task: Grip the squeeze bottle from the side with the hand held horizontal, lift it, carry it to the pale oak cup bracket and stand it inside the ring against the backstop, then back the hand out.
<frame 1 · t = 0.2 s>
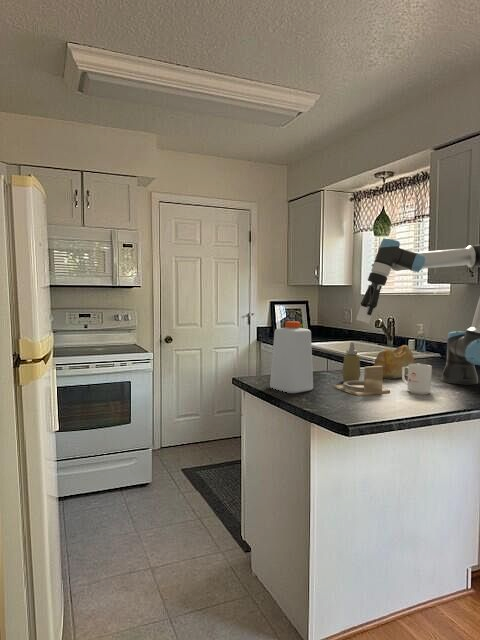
hand: (362, 321, 192), 28 cm above the counter, fingers open, 13 cm apart
mug: (415, 392, 184), on the counter
cup bracket: (361, 390, 185), on the counter
plastic bottle: (291, 389, 185), on the counter
squeeze bottle: (350, 382, 202), on the counter
rough brown rock: (389, 376, 218), on the counter
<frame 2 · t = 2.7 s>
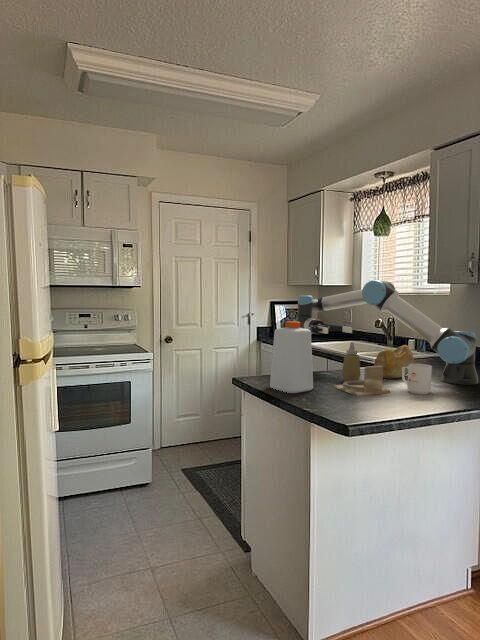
hand: (339, 330, 209), 22 cm above the counter, fingers open, 13 cm apart
nothing on the counter moved.
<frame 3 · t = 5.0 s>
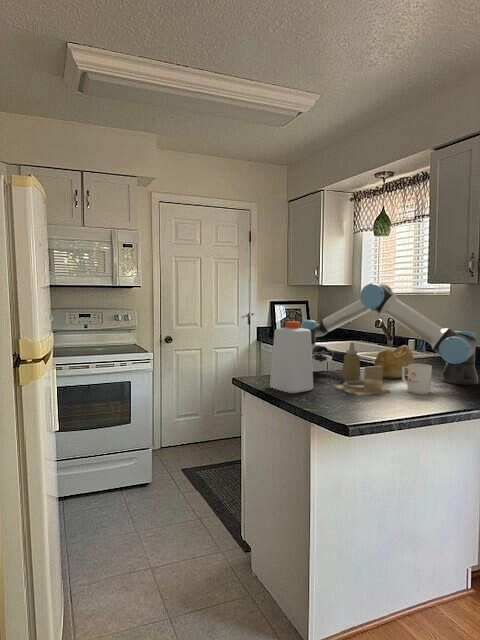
hand: (344, 358, 205), 10 cm above the counter, fingers open, 13 cm apart
nothing on the counter moved.
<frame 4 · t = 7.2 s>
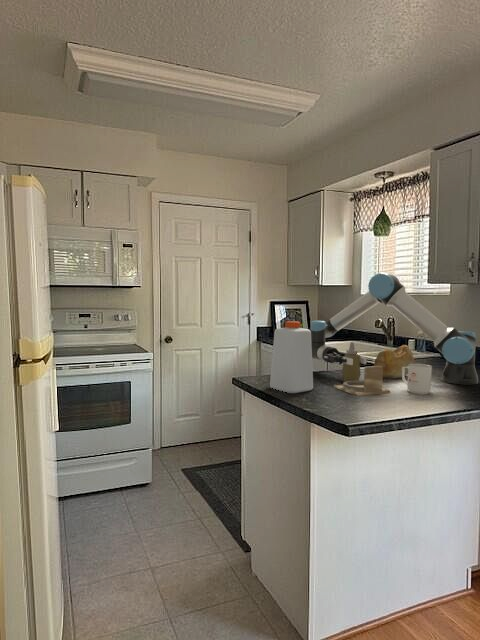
hand: (358, 361, 196), 10 cm above the counter, fingers closed on squeeze bottle, 6 cm apart
squeeze bottle: (350, 382, 202), on the counter, touching gripper
everything else where it was.
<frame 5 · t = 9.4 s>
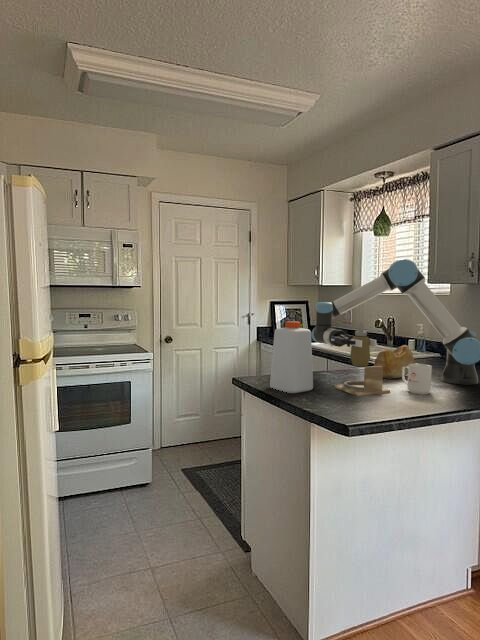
hand: (368, 343, 181), 20 cm above the counter, fingers closed on squeeze bottle, 6 cm apart
squeeze bottle: (359, 366, 186), point 10 cm above the counter, touching gripper
everything else where it was.
when the fingers open (12 cm above the counter, at t = 11.7 s): squeeze bottle drops 1 cm, resting on cup bracket.
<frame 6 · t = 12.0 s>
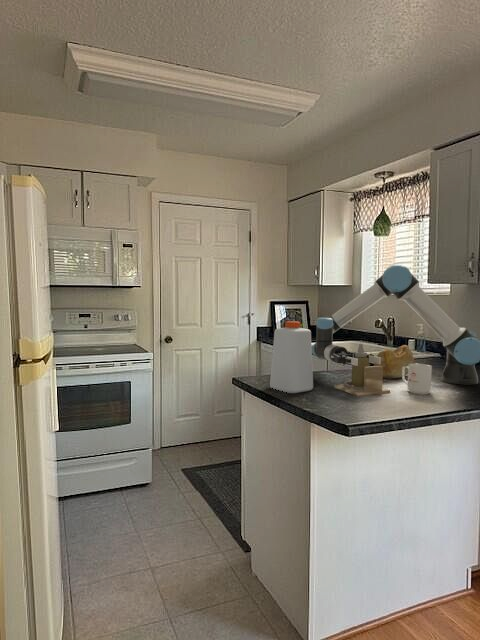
hand: (368, 361, 181), 12 cm above the counter, fingers open, 11 cm apart
squeeze bottle: (361, 387, 185), point 1 cm above the counter, touching cup bracket
everything else where it was.
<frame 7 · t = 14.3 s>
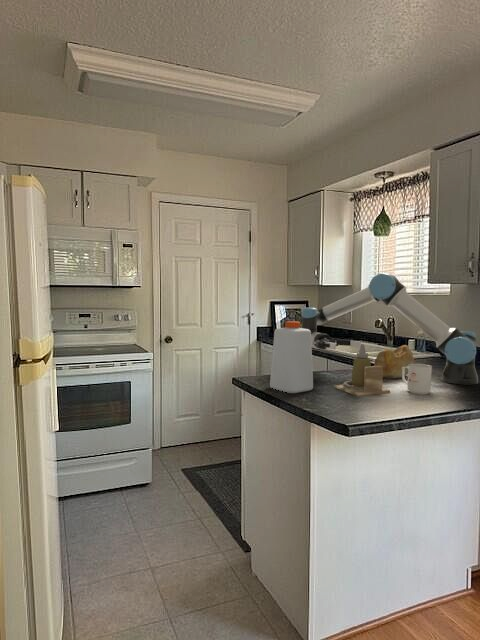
hand: (347, 345, 196), 17 cm above the counter, fingers open, 13 cm apart
nothing on the counter moved.
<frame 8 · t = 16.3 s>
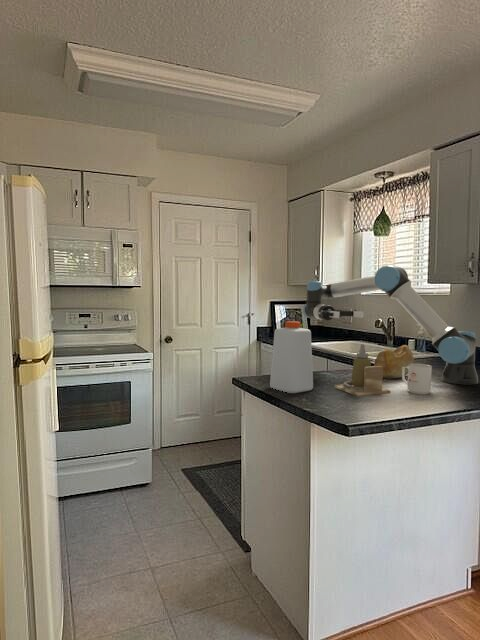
hand: (351, 314, 204), 30 cm above the counter, fingers open, 13 cm apart
nothing on the counter moved.
at the end: squeeze bottle 0.1 cm from the cup bracket (horizontally); squeeze bottle tilted 0°; the gripper is holding nothing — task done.
